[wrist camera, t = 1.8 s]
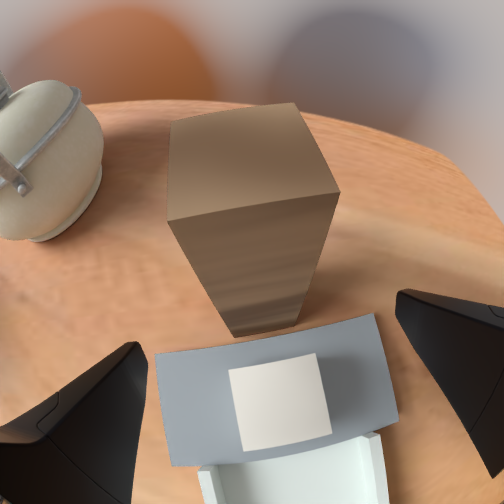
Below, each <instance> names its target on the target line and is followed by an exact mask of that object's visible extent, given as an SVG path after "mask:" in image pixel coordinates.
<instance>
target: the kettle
mask: <svg viewBox="0 0 504 504" xmlns="http://www.w3.org/2000/svg"><path fill="white" fill-rule="evenodd" d="M103 149H104V138H103V132H102V129H101V126H100V124H99V122H98V120H97V119H96V117H95V116H94V114H93V113H92V112H91V111H90V110H89V109H88V108H87V107H86V106H85V105H84V104H83V103H82V102H81V91H80V90H79V89H78V88H77V87H68V86H67V85H65V84H64V83H62V82H59V81H56V80H45V81H39V82H36V83H33V84H30V85H28V86H26V87H24V88H22V89H20V90H18V91H17V92H15V93H13V91H12V90H11V87H10V86H9V83H8V82H7V80H6V78H5V77H4V76H3V74H2V72H1V71H0V237H2V238H5V239H8V240H25V239H27V240H29V241H33V242H41V241H46V240H49V239H51V238H53V237H55V236H57V235H58V234H60V233H62V232H63V231H64V230H66V229H67V228H68V227H69V226H71V225H72V224H73V223H74V222H75V221H76V220H77V219H78V218H79V217H80V216H81V214H82V213H83V212H84V211H85V210H86V208H87V207H88V206H89V204H90V203H91V201H92V199H93V198H94V196H95V194H96V192H97V190H98V188H99V185H100V182H101V178H102V165H101V160H102V156H103Z"/></svg>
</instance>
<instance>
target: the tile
mask: <svg viewBox="0 0 504 504" xmlns="http://www.w3.org/2000/svg"><path fill="white" fill-rule="evenodd" d="M228 371H229V377H230V383H231V389H232V395H233V400H234V406H235V411H236V417H237V422H238V427H239V432H240V437H241V442H242V447H243V452H245V451H253V450H259V449H266V448H272V447H277V446H283V445H288V444H292V443H297V442H302V441H306V440H310V439H314V438H318V437H322V436H326V435H329V434H332V428H331V423H330V418H329V413H328V409H327V404H326V399H325V394H324V390H323V385H322V380H321V376H320V371H319V367H318V362H317V358H316V354H315V353H313V354H309V355H304V356H300V357H295V358H291V359H286V360H281V361H276V362H271V363H266V364H260V365H255V366H249V367H243V368H237V369H230V370H228Z"/></svg>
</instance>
